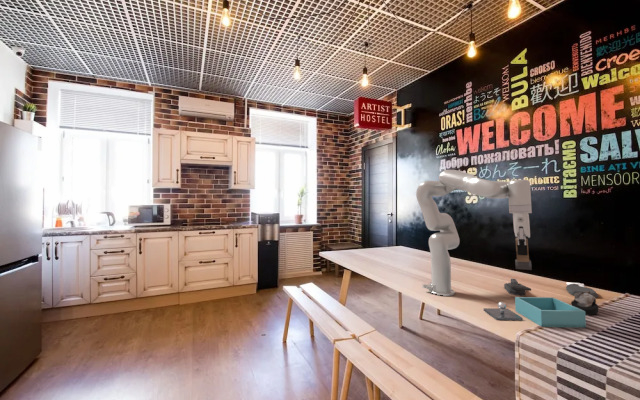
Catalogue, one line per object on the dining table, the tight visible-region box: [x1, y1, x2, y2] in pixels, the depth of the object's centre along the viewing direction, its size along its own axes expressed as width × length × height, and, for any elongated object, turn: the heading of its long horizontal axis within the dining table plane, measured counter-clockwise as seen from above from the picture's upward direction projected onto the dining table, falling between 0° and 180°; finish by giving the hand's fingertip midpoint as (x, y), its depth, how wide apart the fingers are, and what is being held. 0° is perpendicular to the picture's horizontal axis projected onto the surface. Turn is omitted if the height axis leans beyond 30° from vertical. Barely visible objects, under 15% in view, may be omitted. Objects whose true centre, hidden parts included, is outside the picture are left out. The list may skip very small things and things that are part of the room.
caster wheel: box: [570, 291, 599, 316], centre depth 118 cm, size 7×11×10 cm
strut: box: [514, 237, 532, 271], centre depth 113 cm, size 5×5×12 cm
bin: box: [514, 296, 587, 328], centre depth 111 cm, size 16×16×6 cm
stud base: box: [483, 301, 524, 321], centre depth 115 cm, size 10×10×6 cm
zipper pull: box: [503, 278, 532, 297], centre depth 142 cm, size 9×7×25 cm
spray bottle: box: [565, 281, 599, 299], centre depth 145 cm, size 3×11×24 cm
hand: (522, 253), depth 113 cm, fingers closed on strut, 4 cm apart
